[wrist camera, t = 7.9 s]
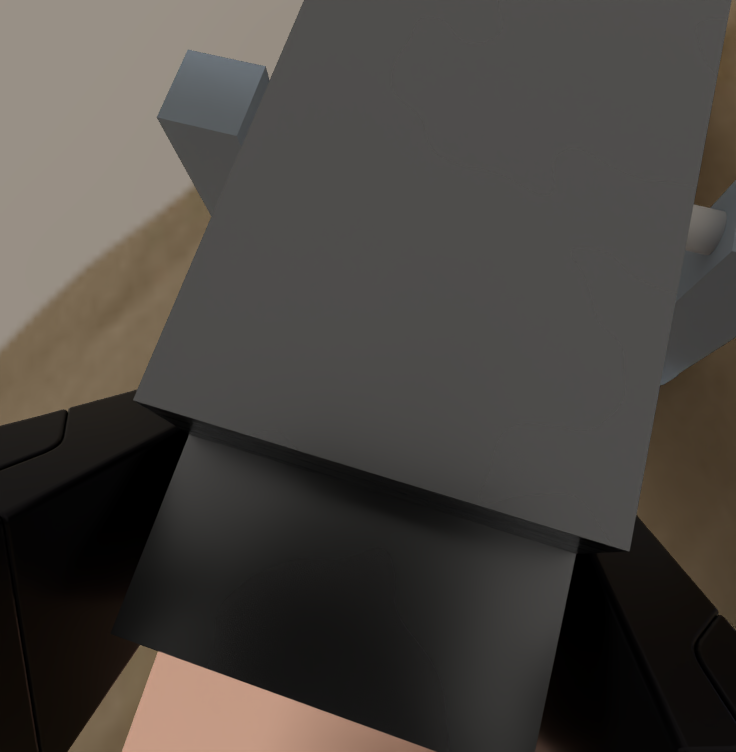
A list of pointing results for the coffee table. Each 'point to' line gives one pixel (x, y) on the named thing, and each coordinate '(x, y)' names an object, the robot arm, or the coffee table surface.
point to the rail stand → (239, 105)
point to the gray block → (425, 354)
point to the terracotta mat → (239, 718)
